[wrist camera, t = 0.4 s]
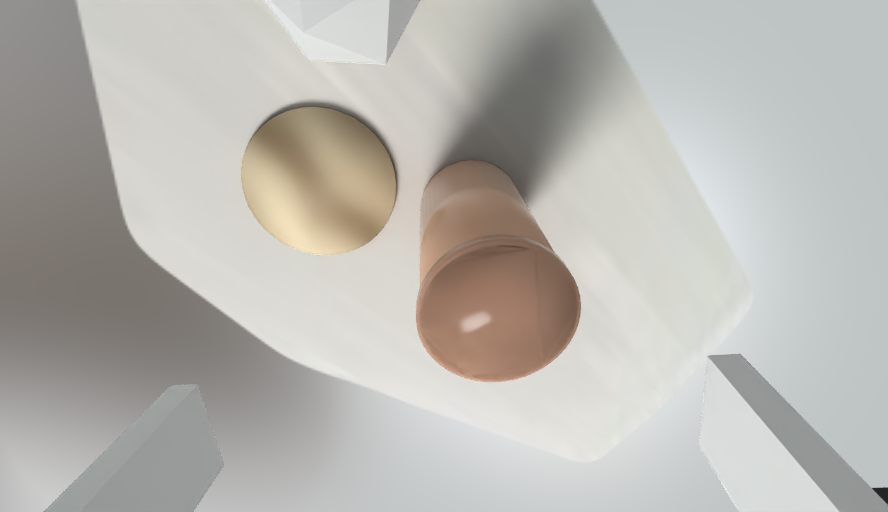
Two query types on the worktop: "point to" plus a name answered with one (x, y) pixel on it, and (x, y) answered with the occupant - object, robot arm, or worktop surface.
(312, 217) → the disc
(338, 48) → the die
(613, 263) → the worktop surface
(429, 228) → the jar
